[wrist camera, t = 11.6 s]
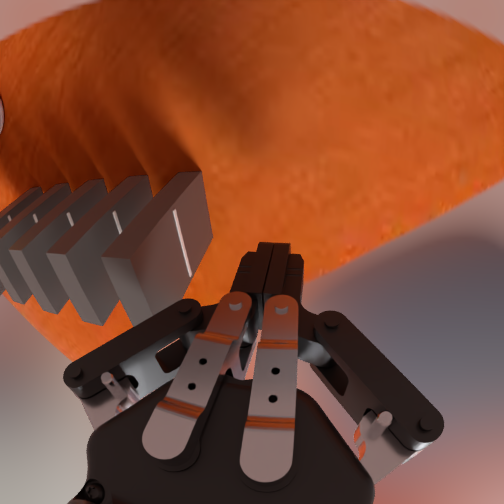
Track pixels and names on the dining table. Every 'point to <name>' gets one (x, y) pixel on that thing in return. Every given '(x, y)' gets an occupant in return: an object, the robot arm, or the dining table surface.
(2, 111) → the supplement bottle
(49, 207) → the tile
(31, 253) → the tile
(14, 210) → the end tile
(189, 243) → the lead tile
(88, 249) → the tile
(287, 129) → the dining table surface
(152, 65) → the dining table surface
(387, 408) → the robot arm
